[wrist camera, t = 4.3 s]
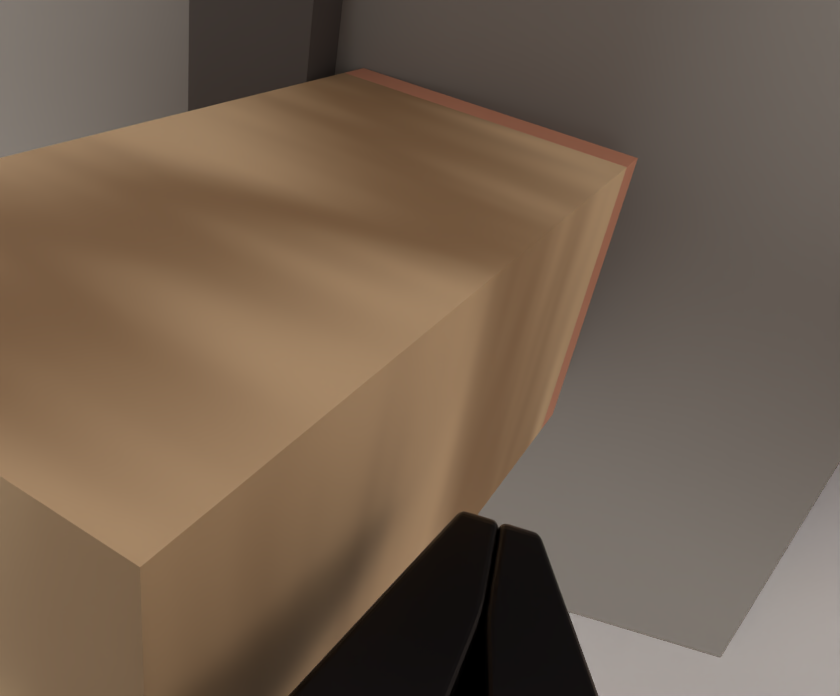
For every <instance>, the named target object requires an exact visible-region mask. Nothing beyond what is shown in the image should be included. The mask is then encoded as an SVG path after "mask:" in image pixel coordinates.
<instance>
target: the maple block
mask: <svg viewBox="0 0 840 696" xmlns="http://www.w3.org/2000/svg"><path fill="white" fill-rule="evenodd" d="M637 159H638V158H636V157H633V156H630V155H627V154H624V153H621V152H618V151H615V150H612V149H609V148H606V147H602V146H599V145H596V144H593V143H590V142H587V141H584V140H581V139H578V138H575V137H572V136H569V135H566V134H563V133H560V132H557V131H554V130H551V129H548V128H545V127H542V126H539V125H536V124H533V123H529V122H526V121H523V120H520V119H517V118H514V117H511V116H508V115H505V114H502V113H499V112H496V111H493V110H490V109H487V108H484V107H481V106H478V105H475V104H472V103H469V102H466V101H463V100H459V99H456V98H453V97H450V96H447V95H444V94H441V93H438V92H435V91H432V90H429V89H426V88H423V87H420V86H417V85H414V84H411V83H408V82H405V81H402V80H399V79H396V78H393V77H389V76H386V75H383V74H380V73H377V72H374V71H371V70H368V69H365V68H362V69H358V70H354V71H350V72H345V73H341V74H337V75H333V76H329V77H325V78H321V79H317V80H313V81H309V82H305V83H301V84H297V85H293V86H289V87H285V88H281V89H277V90H273V91H269V92H265V93H261V94H257V95H252V96H248V97H244V98H240V99H236V100H232V101H228V102H224V103H220V104H216V105H212V106H208V107H204V108H200V109H196V110H192V111H188V112H184V113H180V114H176V115H172V116H168V117H164V118H160V119H155V120H151V121H147V122H143V123H139V124H135V125H131V126H127V127H123V128H119V129H115V130H111V131H107V132H103V133H99V134H95V135H91V136H87V137H83V138H79V139H75V140H71V141H67V142H62V143H58V144H54V145H50V146H46V147H42V148H38V149H34V150H30V151H26V152H22V153H18V154H14V155H10V156H6V157H2V158H0V696H288V695H289V694H290V693H291V692H292V691H293V690H294V689H295V688H296V687H297V686H298V685H299V684H300V682H301V681H302V680H303V679H304V678H305V677H306V676H307V675H308V674H309V673H310V672H311V671H312V670H313V668H314V667H315V666H316V665H317V664H318V663H319V662H320V661H321V660H322V659H323V658H324V657H325V656H326V654H327V653H328V652H329V651H330V650H331V649H332V648H333V647H334V646H335V645H336V644H337V643H338V642H339V640H340V639H341V638H342V637H343V636H344V635H345V634H346V633H347V632H348V631H349V630H350V629H351V628H352V626H353V625H354V624H355V623H356V622H357V621H358V620H359V619H360V618H361V617H362V616H363V615H364V614H365V612H366V611H367V610H368V609H369V608H370V607H371V606H372V605H373V604H374V603H375V602H376V601H377V599H378V598H379V597H380V596H381V595H382V594H383V593H384V592H385V591H386V590H387V589H388V588H389V587H390V585H391V584H392V583H393V582H394V581H395V580H396V579H397V578H398V577H399V576H400V575H401V574H402V573H403V571H404V570H405V569H406V568H407V567H408V566H409V565H410V564H411V563H412V562H413V561H414V560H415V559H416V557H417V556H418V555H419V554H420V553H421V552H422V551H423V550H424V549H425V548H426V547H427V546H428V545H429V543H430V542H431V541H432V540H433V539H434V538H435V537H436V536H437V535H438V534H439V533H440V532H441V531H442V529H443V528H444V527H445V526H446V525H447V524H448V523H449V522H450V521H451V520H452V519H453V518H454V517H455V516H456V515H457V514H458V513H460V512H463V511H465V512H469V513H473V514H476V515H478V513H479V512H480V511H481V509H482V508H483V507H484V505H485V504H486V503H487V501H488V500H489V499H490V497H491V496H492V495H493V493H494V492H495V491H496V489H497V488H498V487H499V485H500V484H501V483H502V481H503V480H504V479H505V477H506V476H507V475H508V473H509V472H510V471H511V469H512V468H513V467H514V465H515V464H516V463H517V461H518V460H519V459H520V457H521V456H522V455H523V453H524V452H525V451H526V449H527V448H528V447H529V445H530V444H531V443H532V441H533V440H534V439H535V437H536V436H537V435H538V433H539V432H540V431H541V429H542V428H543V427H544V425H545V424H546V423H547V421H548V420H549V419H550V417H551V416H552V414H553V412H554V409H555V406H556V403H557V400H558V397H559V394H560V391H561V388H562V385H563V382H564V379H565V376H566V373H567V370H568V367H569V364H570V361H571V358H572V355H573V352H574V349H575V346H576V343H577V340H578V337H579V334H580V331H581V328H582V325H583V322H584V319H585V316H586V313H587V310H588V307H589V304H590V301H591V298H592V295H593V292H594V289H595V286H596V283H597V280H598V277H599V274H600V271H601V268H602V265H603V262H604V259H605V256H606V253H607V250H608V247H609V244H610V241H611V238H612V235H613V232H614V229H615V226H616V223H617V220H618V217H619V214H620V211H621V208H622V205H623V202H624V199H625V196H626V193H627V190H628V187H629V184H630V181H631V177H632V174H633V171H634V168H635V165H636V162H637Z"/></svg>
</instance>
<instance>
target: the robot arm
mask: <svg viewBox="0 0 840 696" xmlns="http://www.w3.org/2000/svg"><path fill="white" fill-rule="evenodd" d="M288 696H598V693H597V691H596V688H595V685H594V682H593V680H592V677H591V674H590V671H589V669H588V666H587V663H586V660H585V657H584V655H583V652H582V649H581V646H580V644H579V641H578V638H577V635H576V633H575V630H574V627H573V624H572V621H571V619H570V616H569V613H568V610H567V608H566V605H565V602H564V599H563V597H562V594H561V591H560V588H559V586H558V583H557V580H556V577H555V574H554V572H553V569H552V566H551V563H550V561H549V558H548V555H547V552H546V550H545V547H544V544H543V542H542V539H541V537H540V536H539V535H538V534H537V533H535V532H533V531H530V530H526V529H523V528H520V527H516V526H513V525H510V524H502V525H501V526H499V528H498V524H497V522H496V521H495V520H493V519H489V518H486V517H483V516H479V515H476V514H473V513H469V512H465V511H463V512H460V513H458V514H457V515H456V516H455V517H454V518H453V519H452V520H451V521H450V522H449V523H448V524H447V525H446V526H445V527H444V528H443V529H442V531H441V532H440V533H439V534H438V535H437V536H436V537H435V538H434V539H433V540H432V541H431V542H430V543H429V545H428V546H427V547H426V548H425V549H424V550H423V551H422V552H421V553H420V554H419V555H418V556H417V557H416V559H415V560H414V561H413V562H412V563H411V564H410V565H409V566H408V567H407V568H406V569H405V570H404V571H403V573H402V574H401V575H400V576H399V577H398V578H397V579H396V580H395V581H394V582H393V583H392V584H391V585H390V587H389V588H388V589H387V590H386V591H385V592H384V593H383V594H382V595H381V596H380V597H379V598H378V599H377V601H376V602H375V603H374V604H373V605H372V606H371V607H370V608H369V609H368V610H367V611H366V612H365V614H364V615H363V616H362V617H361V618H360V619H359V620H358V621H357V622H356V623H355V624H354V625H353V626H352V628H351V629H350V630H349V631H348V632H347V633H346V634H345V635H344V636H343V637H342V638H341V639H340V640H339V642H338V643H337V644H336V645H335V646H334V647H333V648H332V649H331V650H330V651H329V652H328V653H327V654H326V656H325V657H324V658H323V659H322V660H321V661H320V662H319V663H318V664H317V665H316V666H315V667H314V668H313V670H312V671H311V672H310V673H309V674H308V675H307V676H306V677H305V678H304V679H303V680H302V681H301V682H300V684H299V685H298V686H297V687H296V688H295V689H294V690H293V691H292V692H291V693H290V694H289V695H288Z"/></svg>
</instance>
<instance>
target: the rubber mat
mask: <svg viewBox="0 0 840 696" xmlns="http://www.w3.org/2000/svg"><path fill="white" fill-rule="evenodd" d="M362 68H365V69H368V70H371V71H374V72H377V73H380V74H383V75H386V76H389V77H393V78H396V79H399V80H402V81H405V82H408V83H411V84H414V85H417V86H420V87H423V88H426V89H429V90H432V91H435V92H438V93H441V94H444V95H447V96H450V97H453V98H456V99H459V100H463V101H466V102H469V103H472V104H475V105H478V106H481V107H484V108H487V109H490V110H493V111H496V112H499V113H502V114H505V115H508V116H511V117H514V118H517V119H520V120H523V121H526V122H529V123H533V124H536V125H539V126H542V127H545V128H548V129H551V130H554V131H557V132H560V133H563V134H566V135H569V136H572V137H575V138H578V139H581V140H584V141H587V142H590V143H593V144H596V145H599V146H602V147H606V148H609V149H612V150H615V151H618V152H621V153H624V154H627V155H630V156H633V157H636V158H638V159H637V162H636V165H635V168H634V171H633V174H632V177H631V181H630V184H629V187H628V190H627V193H626V196H625V199H624V202H623V205H622V208H621V211H620V214H619V217H618V220H617V223H616V226H615V229H614V232H613V235H612V238H611V241H610V244H609V247H608V250H607V253H606V256H605V259H604V262H603V265H602V268H601V271H600V274H599V277H598V280H597V283H596V286H595V289H594V292H593V295H592V298H591V301H590V304H589V307H588V310H587V313H586V316H585V319H584V322H583V325H582V328H581V331H580V334H579V337H578V340H577V343H576V346H575V349H574V352H573V355H572V358H571V361H570V364H569V367H568V370H567V373H566V376H565V379H564V382H563V385H562V388H561V391H560V394H559V397H558V400H557V403H556V406H555V409H554V412H553V414H552V416H551V417H550V419H549V420H548V421H547V423H546V424H545V425H544V427H543V428H542V429H541V431H540V432H539V433H538V435H537V436H536V437H535V439H534V440H533V441H532V443H531V444H530V445H529V447H528V448H527V449H526V451H525V452H524V453H523V455H522V456H521V457H520V459H519V460H518V461H517V463H516V464H515V465H514V467H513V468H512V469H511V471H510V472H509V473H508V475H507V476H506V477H505V479H504V480H503V481H502V483H501V484H500V485H499V487H498V488H497V489H496V491H495V492H494V493H493V495H492V496H491V497H490V499H489V500H488V501H487V503H486V504H485V505H484V507H483V508H482V509H481V511H480V512H479V513H478V515H479V516H483V517H486V518H489V519H493V520H495V521H496V522H497V524H498V528H499V526H501V525H502V524H510V525H513V526H516V527H520V528H523V529H526V530H530V531H533V532H535V533H537V534H538V535H539V536H540V537H541V539H542V542H543V544H544V547H545V550H546V552H547V555H548V558H549V561H550V563H551V566H552V569H553V572H554V574H555V577H556V580H557V583H558V586H559V588H560V591H561V594H562V597H563V599H564V602H565V605H566V608H567V610H568V612H571V613H574V614H577V615H581V616H584V617H587V618H591V619H594V620H597V621H601V622H604V623H607V624H611V625H614V626H617V627H621V628H624V629H627V630H630V631H634V632H637V633H640V634H644V635H647V636H650V637H654V638H657V639H660V640H664V641H667V642H670V643H674V644H677V645H680V646H684V647H687V648H690V649H694V650H697V651H700V652H703V653H707V654H710V655H713V656H717V657H721V656H722V654H723V653H724V651H725V649H726V648H727V646H728V644H729V643H730V641H731V639H732V638H733V636H734V634H735V633H736V631H737V630H738V628H739V626H740V625H741V623H742V621H743V620H744V618H745V616H746V615H747V613H748V612H749V610H750V608H751V607H752V605H753V603H754V602H755V600H756V598H757V597H758V595H759V593H760V592H761V590H762V589H763V587H764V585H765V584H766V582H767V580H768V579H769V577H770V575H771V574H772V572H773V571H774V569H775V567H776V566H777V564H778V562H779V561H780V559H781V557H782V556H783V554H784V552H785V551H786V549H787V548H788V546H789V544H790V543H791V541H792V539H793V538H794V536H795V534H796V533H797V531H798V530H799V528H800V526H801V525H802V523H803V521H804V520H805V518H806V516H807V515H808V513H809V511H810V510H811V508H812V507H813V505H814V503H815V502H816V500H817V498H818V497H819V495H820V493H821V492H822V490H823V489H824V487H825V485H826V484H827V482H828V480H829V479H830V477H831V475H832V474H833V472H834V470H835V469H836V467H837V466H838V464H839V462H840V0H0V158H2V157H6V156H10V155H14V154H18V153H22V152H26V151H30V150H34V149H38V148H42V147H46V146H50V145H54V144H58V143H62V142H67V141H71V140H75V139H79V138H83V137H87V136H91V135H95V134H99V133H103V132H107V131H111V130H115V129H119V128H123V127H127V126H131V125H135V124H139V123H143V122H147V121H151V120H155V119H160V118H164V117H168V116H172V115H176V114H180V113H184V112H188V111H192V110H196V109H200V108H204V107H208V106H212V105H216V104H220V103H224V102H228V101H232V100H236V99H240V98H244V97H248V96H252V95H257V94H261V93H265V92H269V91H273V90H277V89H281V88H285V87H289V86H293V85H297V84H301V83H305V82H309V81H313V80H317V79H321V78H325V77H329V76H333V75H337V74H341V73H345V72H350V71H354V70H358V69H362Z"/></svg>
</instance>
